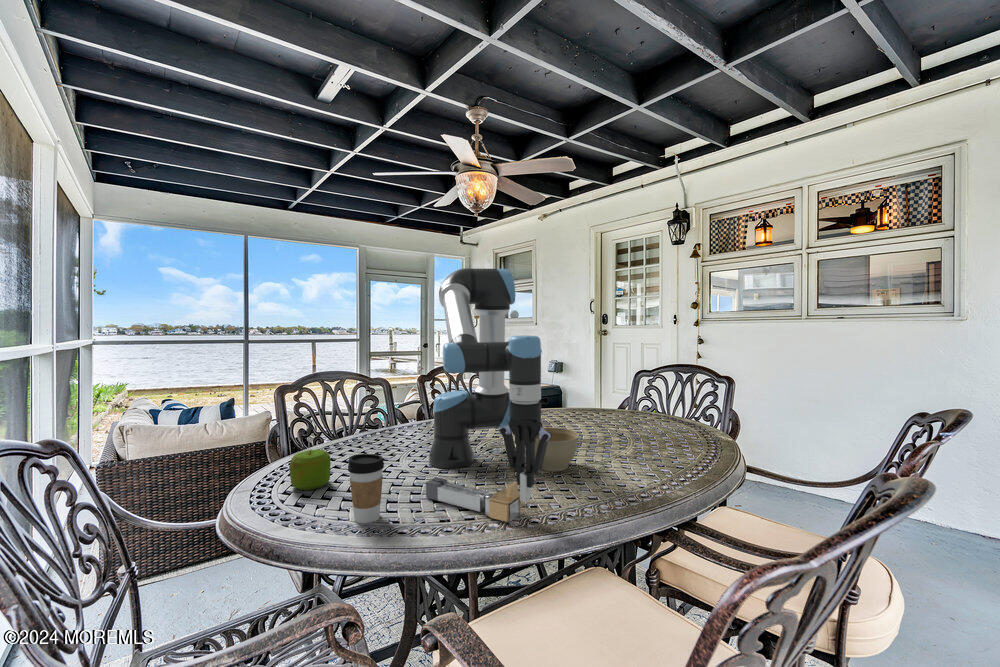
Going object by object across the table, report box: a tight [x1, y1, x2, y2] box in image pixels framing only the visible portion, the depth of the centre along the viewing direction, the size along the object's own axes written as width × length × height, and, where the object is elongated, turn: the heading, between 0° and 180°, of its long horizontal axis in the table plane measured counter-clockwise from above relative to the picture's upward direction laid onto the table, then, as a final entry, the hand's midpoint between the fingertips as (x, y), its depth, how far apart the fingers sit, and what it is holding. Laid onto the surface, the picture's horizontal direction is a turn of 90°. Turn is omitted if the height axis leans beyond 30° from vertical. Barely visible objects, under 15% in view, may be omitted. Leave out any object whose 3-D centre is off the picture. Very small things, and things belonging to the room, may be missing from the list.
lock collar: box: [488, 480, 522, 523], centre depth 108 cm, size 5×7×8 cm
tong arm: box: [431, 476, 490, 509], centre depth 117 cm, size 17×2×4 cm, turn 59°
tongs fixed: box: [425, 479, 520, 522], centre depth 114 cm, size 26×4×5 cm, turn 59°
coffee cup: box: [347, 453, 385, 524], centre depth 107 cm, size 8×8×15 cm
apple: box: [288, 448, 332, 491], centre depth 128 cm, size 11×11×11 cm
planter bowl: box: [535, 427, 579, 472], centre depth 143 cm, size 16×16×11 cm
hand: (525, 499), depth 105 cm, fingers closed
